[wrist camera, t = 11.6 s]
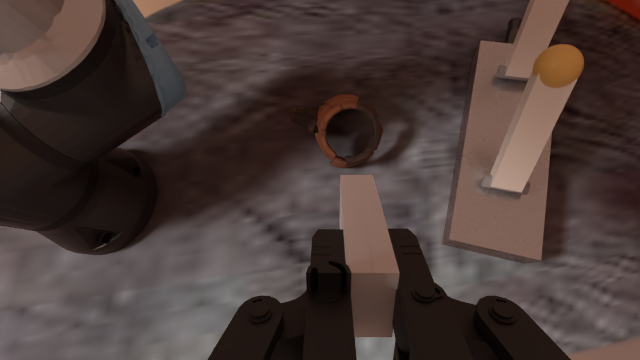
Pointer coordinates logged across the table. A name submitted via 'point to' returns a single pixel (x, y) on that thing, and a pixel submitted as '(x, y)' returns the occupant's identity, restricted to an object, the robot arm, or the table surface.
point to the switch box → (478, 159)
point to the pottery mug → (323, 115)
